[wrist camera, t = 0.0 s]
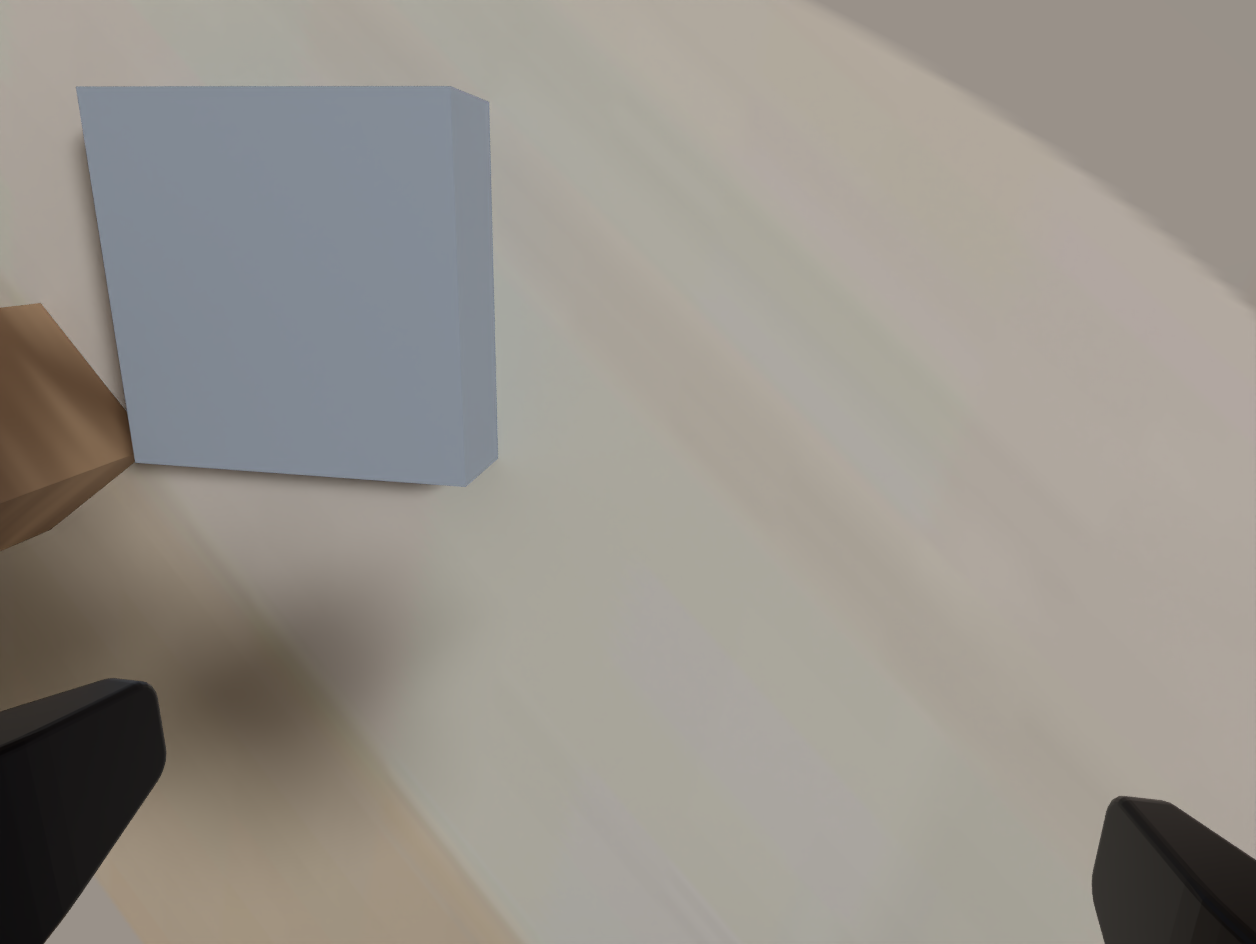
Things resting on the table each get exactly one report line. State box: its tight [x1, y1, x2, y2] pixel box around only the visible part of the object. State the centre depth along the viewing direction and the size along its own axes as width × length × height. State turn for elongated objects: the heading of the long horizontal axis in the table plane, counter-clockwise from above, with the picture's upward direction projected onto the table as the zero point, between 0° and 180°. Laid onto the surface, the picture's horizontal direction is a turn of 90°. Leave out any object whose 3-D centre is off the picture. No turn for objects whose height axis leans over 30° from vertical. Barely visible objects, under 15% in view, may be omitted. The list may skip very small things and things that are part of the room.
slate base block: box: [76, 86, 498, 487], centre depth 21 cm, size 9×9×3 cm
